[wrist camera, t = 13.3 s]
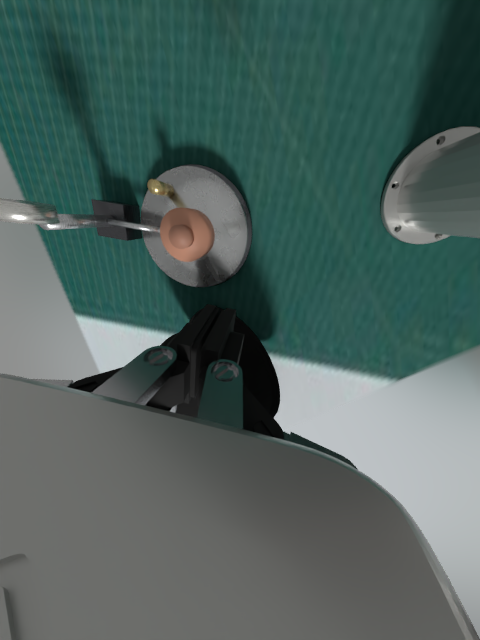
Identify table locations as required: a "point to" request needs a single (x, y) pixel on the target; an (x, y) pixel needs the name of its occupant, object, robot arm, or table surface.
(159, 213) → the disc
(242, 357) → the car wheel rim
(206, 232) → the cover
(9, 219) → the metal lever
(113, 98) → the table surface
